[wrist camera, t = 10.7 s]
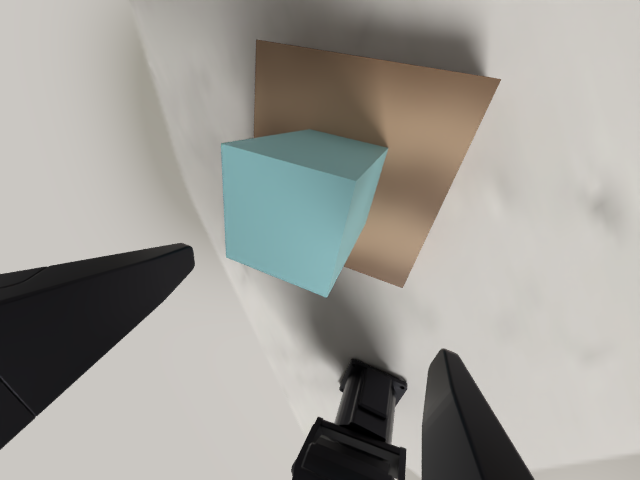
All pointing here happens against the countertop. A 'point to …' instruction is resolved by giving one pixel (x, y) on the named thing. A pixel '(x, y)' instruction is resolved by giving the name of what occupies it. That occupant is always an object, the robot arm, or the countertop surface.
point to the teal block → (298, 203)
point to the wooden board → (378, 135)
